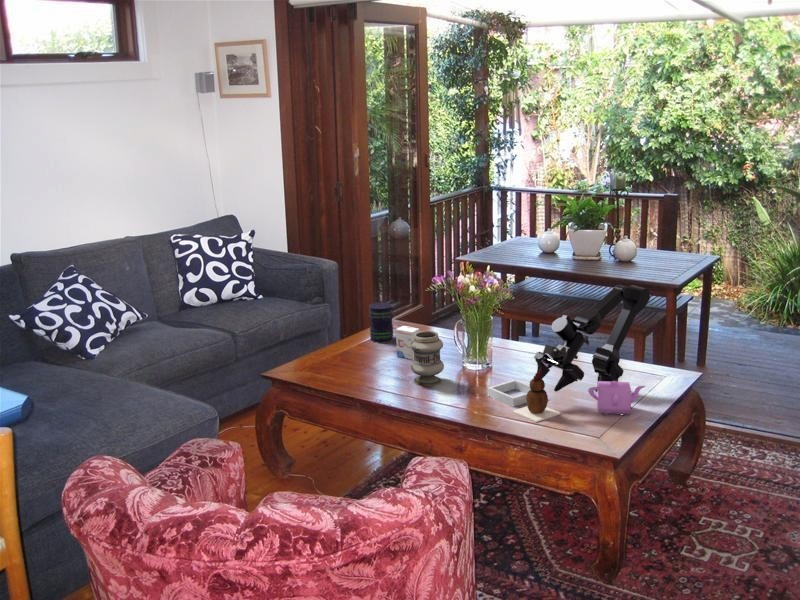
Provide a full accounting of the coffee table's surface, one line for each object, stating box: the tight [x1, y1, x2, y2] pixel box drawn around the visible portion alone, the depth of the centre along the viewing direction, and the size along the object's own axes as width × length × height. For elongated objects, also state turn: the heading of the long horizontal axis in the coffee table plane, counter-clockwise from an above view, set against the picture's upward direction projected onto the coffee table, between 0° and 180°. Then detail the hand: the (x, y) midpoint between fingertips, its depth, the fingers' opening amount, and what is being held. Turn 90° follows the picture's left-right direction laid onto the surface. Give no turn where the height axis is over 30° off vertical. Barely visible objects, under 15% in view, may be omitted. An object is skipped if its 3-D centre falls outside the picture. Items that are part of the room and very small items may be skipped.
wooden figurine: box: [526, 367, 549, 413], centre depth 279 cm, size 7×6×15 cm
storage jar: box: [368, 301, 394, 344], centre depth 362 cm, size 10×10×15 cm
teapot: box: [587, 380, 646, 415], centre depth 279 cm, size 18×14×10 cm
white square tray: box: [487, 379, 531, 408], centre depth 295 cm, size 13×13×3 cm
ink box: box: [395, 325, 421, 360], centre depth 339 cm, size 9×5×12 cm, turn 55°
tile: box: [512, 405, 561, 423], centre depth 281 cm, size 11×11×1 cm
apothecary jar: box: [410, 330, 445, 387], centre depth 310 cm, size 12×12×18 cm
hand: (545, 387), depth 280 cm, fingers open, 9 cm apart
